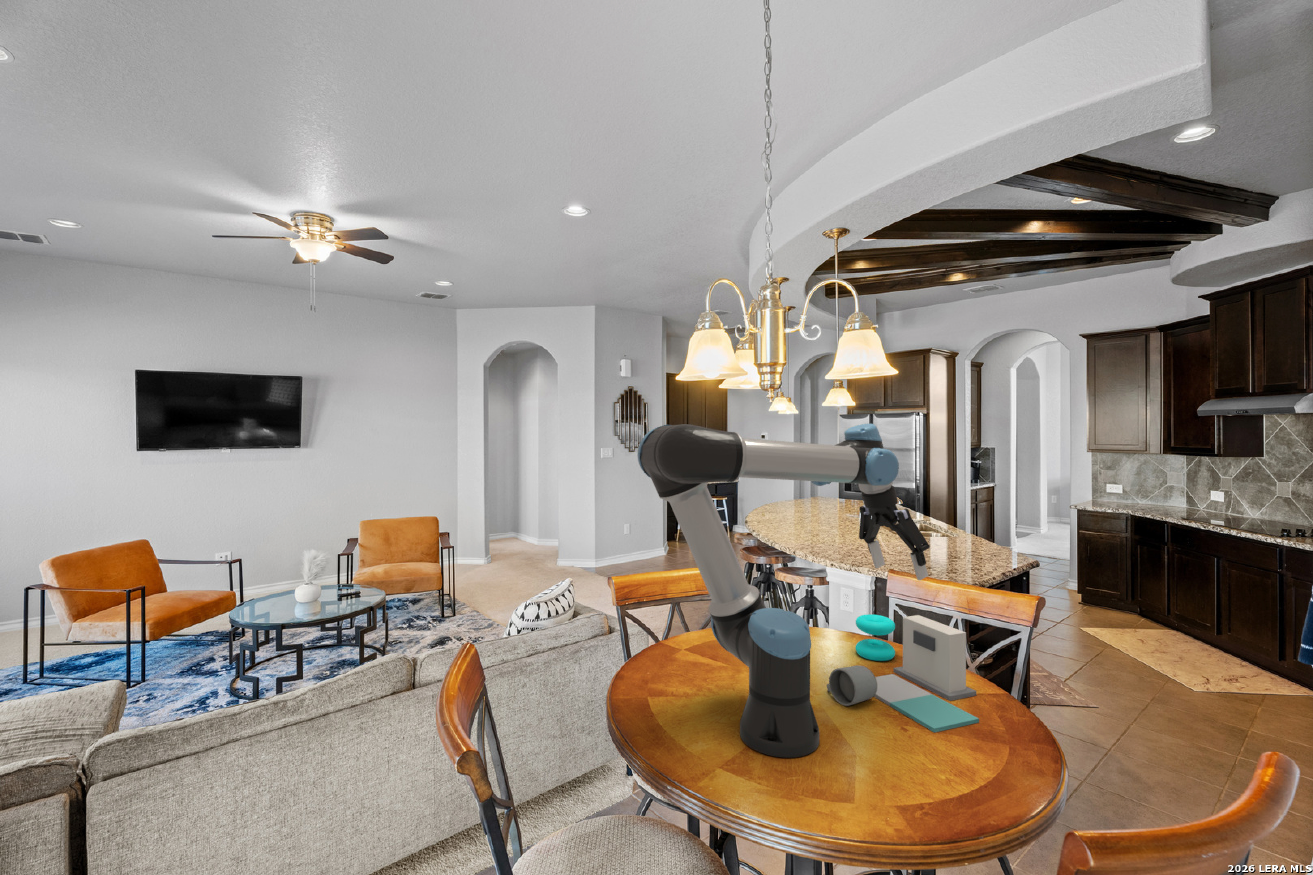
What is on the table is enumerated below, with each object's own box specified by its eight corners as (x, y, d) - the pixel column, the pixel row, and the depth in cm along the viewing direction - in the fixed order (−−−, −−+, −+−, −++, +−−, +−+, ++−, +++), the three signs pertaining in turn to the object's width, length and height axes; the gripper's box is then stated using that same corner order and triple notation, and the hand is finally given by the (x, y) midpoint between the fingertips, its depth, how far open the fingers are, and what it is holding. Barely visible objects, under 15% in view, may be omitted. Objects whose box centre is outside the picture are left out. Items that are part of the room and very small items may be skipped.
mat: (934, 732, 114) (934, 728, 114) (852, 684, 136) (853, 680, 136) (978, 722, 118) (978, 718, 118) (893, 677, 140) (892, 673, 140)
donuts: (903, 621, 152) (874, 626, 148) (903, 659, 152) (874, 665, 148) (875, 611, 161) (847, 615, 157) (875, 646, 161) (847, 651, 157)
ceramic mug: (880, 702, 127) (880, 667, 127) (855, 711, 122) (855, 675, 123) (842, 686, 136) (841, 653, 136) (817, 693, 132) (817, 659, 132)
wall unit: (949, 700, 128) (949, 637, 128) (893, 671, 144) (893, 615, 144) (976, 695, 131) (976, 633, 131) (918, 667, 147) (918, 612, 147)
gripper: (930, 486, 125) (955, 576, 127) (853, 480, 148) (875, 556, 150) (905, 498, 122) (930, 590, 125) (830, 490, 146) (853, 567, 148)
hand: (900, 571), depth 137 cm, fingers open, 13 cm apart
